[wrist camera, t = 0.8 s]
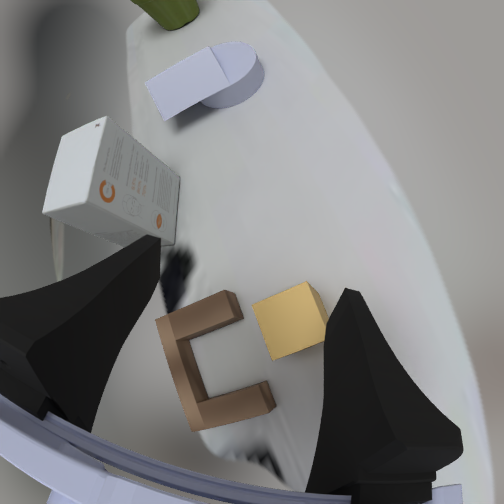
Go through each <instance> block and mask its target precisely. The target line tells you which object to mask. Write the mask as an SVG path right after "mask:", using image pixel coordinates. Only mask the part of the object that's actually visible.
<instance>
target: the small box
mask: <svg viewBox="0 0 504 504" xmlns="http://www.w3.org/2000/svg"><path fill="white" fill-rule="evenodd" d="M179 182H180V177H179V176H178V175H177V174H176V173H174V172H173V171H172V170H171V169H170V168H168V167H167V166H166V165H165V164H164V163H163V162H162V161H160V160H159V159H158V158H157V157H156V156H154V155H153V154H152V153H151V152H150V151H149V150H147V149H146V148H145V147H144V146H143V145H141V144H140V143H139V142H138V141H137V140H136V139H134V138H133V137H132V136H131V135H130V134H128V133H127V132H126V131H125V130H124V129H122V128H121V127H120V126H119V125H118V124H117V123H115V122H114V121H113V120H112V119H111V118H110V117H108V116H105V117H103V118H100V119H97V120H95V121H93V122H90V123H88V124H86V125H84V126H82V127H80V128H78V129H76V130H73V131H71V132H69V133H68V134H66V135H64V136H62V138H61V142H60V145H59V148H58V152H57V155H56V159H55V162H54V166H53V170H52V173H51V177H50V181H49V185H48V189H47V194H46V198H45V203H44V207H43V211H42V213H43V214H45V215H47V216H49V217H51V218H54V219H56V220H59V221H61V222H64V223H66V224H68V225H71V226H73V227H76V228H78V229H81V230H83V231H85V232H88V233H90V234H93V235H96V236H98V237H100V238H103V239H105V240H108V241H110V242H113V243H116V244H118V245H121V246H123V247H126V246H128V245H130V244H131V243H133V242H134V241H136V240H138V239H139V238H141V237H143V236H145V235H146V234H148V235H152V236H155V237H159V238H161V246H164V245H173V244H174V241H175V227H176V215H177V203H178V192H179Z"/></svg>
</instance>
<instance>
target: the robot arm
mask: <svg viewBox="0 0 504 504" xmlns="http://www.w3.org/2000/svg"><path fill="white" fill-rule="evenodd" d="M160 254H161V238H159V237H155V236H152V235H148V234H146V235H145V236H143V237H141V238H139V239H138V240H136V241H134V242H133V243H131V244H130V245H128V246H126V247H125V248H123V249H121V250H120V251H118V252H116V253H115V254H113V255H111V256H110V257H108V258H106V259H104V260H102V261H101V262H99V263H97V264H95V265H93V266H91V267H90V268H88V269H86V270H84V271H82V272H80V273H78V274H76V275H73V276H71V277H69V278H66V279H64V280H62V281H59V282H56V283H53V284H51V285H48V286H45V287H42V288H40V289H36V290H33V291H30V292H26V293H22V294H18V295H14V296H9V297H4V298H0V455H1V456H2V457H3V458H5V459H6V460H8V461H9V462H10V463H12V464H13V465H14V466H16V467H17V468H19V469H20V470H22V471H23V472H25V473H26V474H28V475H29V476H31V477H32V478H34V479H36V480H37V481H39V482H40V483H42V484H44V485H45V486H47V487H49V488H50V489H52V492H51V494H50V496H49V499H48V501H47V503H46V504H208V503H204V502H201V501H197V500H193V499H190V498H186V497H182V496H179V495H175V494H172V493H169V492H166V491H162V490H159V489H156V488H153V487H151V486H148V485H145V484H142V483H140V482H137V481H134V480H131V479H128V478H125V477H123V476H118V475H115V474H112V473H110V472H108V471H107V470H106V469H105V468H104V465H103V463H101V462H99V461H97V460H100V461H102V462H104V463H106V464H109V465H111V466H113V467H116V468H118V469H120V470H123V471H125V472H128V473H131V474H133V475H136V476H138V477H141V478H144V479H146V480H149V481H152V482H155V483H158V484H161V485H164V486H167V487H170V488H174V489H177V490H180V491H184V492H187V493H191V494H194V495H198V496H202V497H206V498H210V499H214V500H219V501H223V502H228V503H232V504H463V499H462V485H461V484H454V485H447V486H440V487H436V488H432V482H433V481H435V480H436V471H438V470H440V469H441V468H443V467H445V466H447V465H449V464H450V463H452V462H454V461H455V460H457V459H458V458H459V457H460V456H461V455H462V453H463V443H462V436H461V430H460V428H459V427H457V426H456V425H455V424H454V423H453V422H452V421H451V420H449V419H448V418H447V417H446V416H445V415H444V414H443V413H442V412H441V411H440V410H439V409H438V408H437V407H436V406H435V405H434V404H433V403H432V402H431V401H430V400H429V399H428V398H427V397H426V396H425V395H424V393H423V392H422V391H421V390H420V389H419V387H418V386H417V385H416V384H415V383H414V381H413V380H412V379H411V378H410V376H409V375H408V374H407V372H406V371H405V369H404V368H403V366H402V365H401V364H400V362H399V361H398V359H397V358H396V356H395V355H394V353H393V351H392V350H391V348H390V346H389V345H388V343H387V341H386V340H385V338H384V336H383V334H382V333H381V331H380V329H379V327H378V325H377V323H376V321H375V320H374V318H373V316H372V314H371V312H370V310H369V308H368V306H367V304H366V302H365V300H364V299H363V297H362V295H361V293H360V292H359V291H355V290H351V289H348V288H345V289H344V291H343V293H342V295H341V297H340V299H339V301H338V303H337V305H336V307H335V308H334V310H333V312H332V314H331V316H330V318H329V320H328V321H327V323H326V331H325V340H324V400H323V410H322V417H321V424H320V430H319V436H318V442H317V447H316V451H315V456H314V461H313V465H312V469H311V473H310V476H309V480H308V484H307V487H306V490H305V493H303V492H294V491H286V490H279V489H272V488H266V487H260V486H254V485H249V484H244V483H239V482H233V481H230V480H225V479H221V478H217V477H212V476H209V475H205V474H201V473H197V472H194V471H190V470H187V469H183V468H180V467H177V466H173V465H170V464H167V463H164V462H161V461H158V460H155V459H153V458H150V457H147V456H144V455H141V454H139V453H136V452H134V451H131V450H128V449H126V448H123V447H121V446H119V445H116V444H114V443H111V442H109V441H107V440H104V439H102V438H100V437H98V436H96V435H94V434H91V430H92V426H93V423H94V420H95V416H96V413H97V409H98V406H99V403H100V400H101V397H102V394H103V392H104V389H105V386H106V383H107V381H108V378H109V375H110V373H111V370H112V368H113V366H114V363H115V361H116V359H117V356H118V354H119V352H120V350H121V348H122V345H123V344H124V342H125V340H126V338H127V337H128V335H129V333H130V332H131V330H132V328H133V327H134V325H135V323H136V322H137V320H138V319H139V317H140V315H141V314H142V312H143V310H144V308H145V307H146V306H147V304H148V302H149V301H150V299H151V297H152V294H153V292H154V290H155V288H156V286H157V283H158V281H159V279H160ZM90 456H91V457H90ZM92 457H93V458H92ZM94 458H95V459H94ZM96 459H97V460H96Z"/></svg>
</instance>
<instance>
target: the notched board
mask: <svg viewBox="0 0 504 504" xmlns="http://www.w3.org/2000/svg"><path fill="white" fill-rule="evenodd" d="M242 319H244V317H243V315H242V312H241V309H240V306H239V303H238V301H237V298H236V295H235V293H233V292H230V291H227V290H223V291H220V292H218V293H216V294H214V295H211V296H209V297H207V298H204V299H202V300H200V301H197V302H195V303H193V304H191V305H188V306H186V307H184V308H181V309H179V310H177V311H174V312H172V313H170V314H167V315H165V316H163V317H160V318H158V319H156V320H155V321H156V324H157V328H158V332H159V335H160V338H161V342H162V345H163V349H164V352H165V355H166V359H167V362H168V365H169V368H170V371H171V374H172V377H173V380H174V383H175V386H176V389H177V392H178V395H179V398H180V401H181V404H182V406H183V409H184V412H185V415H186V417H187V420H188V423H189V425H190V428H191V431H192V432H195V431H200V430H204V429H209V428H213V427H217V426H222V425H226V424H230V423H234V422H238V421H241V420H245V419H249V418H252V417H256V416H260V415H263V414H266V413H269V412H270V411H272V410H273V409H274V408H275V407H276V404H275V401H274V399H273V396H272V393H271V391H270V388H269V385H268V383H267V381H265V382H262V383H259V384H256V385H252V386H249V387H246V388H243V389H240V390H237V391H233V392H230V393H227V394H223V395H220V396H216V397H213V398H208V395H207V393H206V390H205V387H204V384H203V381H202V378H201V375H200V373H199V370H198V367H197V364H196V361H195V358H194V355H193V352H192V349H191V345H190V342H189V340H190V339H193V338H196V337H198V336H201V335H204V334H206V333H209V332H211V331H214V330H217V329H219V328H222V327H224V326H227V325H229V324H232V323H234V322H237V321H239V320H242Z"/></svg>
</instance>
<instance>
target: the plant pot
mask: <svg viewBox="0 0 504 504" xmlns="http://www.w3.org/2000/svg"><path fill="white" fill-rule="evenodd" d="M131 1H132V2H133V3H134V4H137V5H138V6H139V7H141V8H142V9H143V10H144V11H145V12H146V13H148V14H149V15H150V16H151V17H152V18H153V19H154V20H156V21H157V22H158V23H159V24H160V25H161V26H162V27H163V28H164V29H166V30H174V29H178V28H180V27H182V26H183V25H184V24H185V23H187V22H191V21H192V20H193V19H194V18H195V17H196V16H197V15H198V13H199V7H198V4H197V2H196V0H131Z"/></svg>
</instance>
